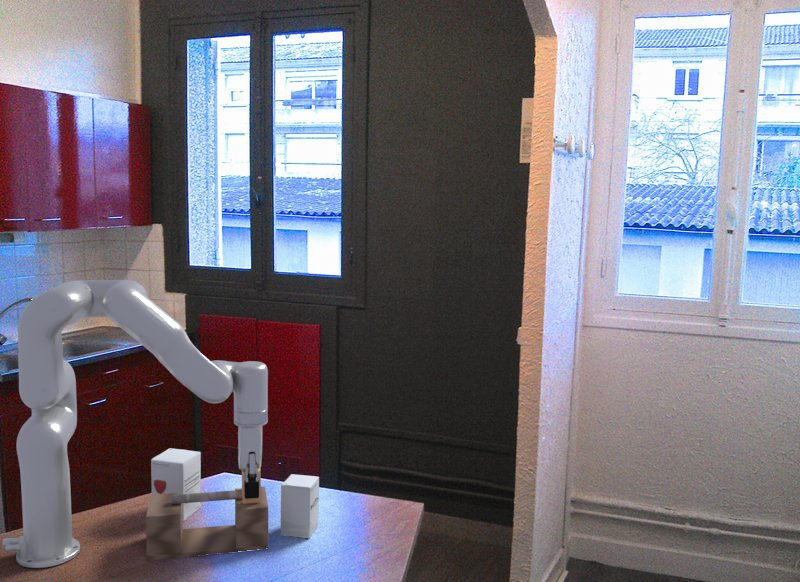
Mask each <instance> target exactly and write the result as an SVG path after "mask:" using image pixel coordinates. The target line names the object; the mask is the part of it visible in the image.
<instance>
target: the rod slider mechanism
mask: <svg viewBox="0 0 800 582" xmlns="http://www.w3.org/2000/svg"><path fill="white" fill-rule="evenodd" d="M230 500H231V501H232V500H234V524H229V525H226V524H225V525H217V526H205V527H204V526H203V527H193V528H192V527H191V528H184V524H183V523H184V521H183V505H182V503H194V502H201V503H203V502H204V503H205V502H218V501H230ZM147 505H148V506H147V510H146V515H145V527H146V528H145V534H146V537H145V539H146V543H145V544H146V561H148V562H149V561H161V560H170V559H180V558H181V559H182V558H191V557H190V556H194V557H199V556H198V555H205V556H207V555H206V554H215V555H220V554H219V553H226V554H230V553H229V552H237V553H239V552H238V551H247V550H257V549H266V548H268V549H269V503H268V497H267V491H266V486H261V502H260V503H247V504H243V490H242V487H241V488H235V489H234V490H233V489H232V490H223V491H222V490H221V491H219V490H218V491H208V492H201V493H191V494H182V493H169V494H155V495H152V494H150V497H149V501H148V504H147ZM217 553H218V554H217Z"/></svg>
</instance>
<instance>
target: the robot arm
mask: <svg viewBox="0 0 800 582" xmlns="http://www.w3.org/2000/svg"><path fill="white" fill-rule="evenodd" d="M83 318H108V319H109V320H111V321H112V322H113V323H114V324H115V325H116V326H118V327H120V328H121V330H123V331H124V333H127V334H128V335H129V336H130V337H132V339H134V340H136V342H138V343H139V344H140V345H142V346H143V347H144V348H145V349H146V350H148V351H149V352H150V353H151V354H152V355H153V356H154V357H155V358H156V359H157V360H158V362H159V363H160V364H161V365H162V366H163V367H165V369H166V370H167V371H169V373H170V374H171V375H172V376H173V377H174V378H175V379H176V380H177V381H178V382H180V384H182V385H183V386H184V387H186V388H187V389H188V390H190V391H191V392H192V393H193V394H194V395H196V396H197V397H198V398H200V399H201V400H203V401H205V402H207V403H209V404H221V403H223V402H225V401H226V400H227V399H229V397H230V396H231V394H232V393H233V424H234V425H235V426H237V427H238V429H237V430H238V431H237V435H238V436H237V440H238V444H237V450H238V451H237V453H238V454H237V455H238V456H237V458H238V459H237V460H238V469H239V470H241V471H242V469H245V470H246V481H245V499H251V498H258V497H259V480H258V469H259V468H260V469H261V467H262V459H263V457H262V456H263V426H265V425H267V424H268V421H269V417H268V416H269V414H268V413H269V412H268V411H269V409H268V408H269V404H268V402H269V399H268V397H269V395H268V393H269V392H268V389H269V388H268V385H269V383H268V382H269V381H268V380H269V370H268V367H267V365H266V364H265V363H264V362H262V361H255V360H253V361H252V360H249V361H242V362H237V361H230V360H229V361H227V360H219V359H218V360H210V359H209V358H207V356H205V355H204V354H203V353H201V351H200V350H199V349H198V348H197V347H196V346H195V345H194V344H193V342H192V341H191V340H190V338H189V336H188V334H187V332H186V331H185V329H184V328H183V326H182V325H181V324H180V323H179V322H178V321H177V320H176V319H175V318H173V317H172V316H171V315H169V314H168V313H167V312H166V311H165V310H163V308H161V307H160V306H159V305H158V304H156V303H154V301H153V300H152V299H150V298H149V296H148V293H147V291H146V289H145V287H144V286H143V285H142V284H140V283H139V282H138V281H135V280H131V279H110V280H109V279H104V280H103V279H101V280H100V279H92V280H91V279H86V280H85V279H82V280H81V279H79V280H78V279H77V280H69V281H65V282H63V283H60V284H59V285H57V286H55V287H52V288H50V289H48V290H46V291H44V292H42V293H41V294H39V295H37V296H35V298H33V299H32V300H30V301H29V302H28V303H27V304H26V306H25V307H24V308H23V310H22V312H21V314H20V316H19V318H18V323H17V345H18V346H17V349H18V352H17V353H18V357H17V359H18V360H17V361H18V363H17V364H18V392H19V395H20V399H21V401H22V403H24V405H25V406H27V407H28V408H30V409H31V416H30V417H29V418H28V419H27V420H26V421H25V422H24V424H22V426H21V428H20V430H19V432H18V434H17V438H16V454H17V459H18V466H19V470H20V471H19V472H20V485H21V488H20V489H21V509H22V529H23V530H22V531H23V535H19V536H18V537H14V538H13V537H10V538H8V537H6V538H3V539H2V542H1V543H2V545H1V546H2V549H5V552H13V551H17V552H16V557H15V558H16V562H17V564H19V565H20V566H22V567H25V568H29V569H30V568H31V569H43V568H50V567H54V566H59V565H61V564H64V563H66V562H68V561H70V560H72V559H74V558H75V557H76V556H77V555H78V554H79V553H80V552H81V543H80V542H79V540H78V539H76V538H74V537H73V527H72V526H73V525H72V524H73V523H72V496H71V495H72V494H71V474H70V473H71V472H70V463H69V457H68V456H69V455H68V443H69V441H70V439H71V438H72V437H73V435H74V434H75V430H76V429H77V424H78V423H77V422H78V408H77V407H78V404H77V381H76V375H75V371H74V368H73V366H72V365H71V364H70V363H69V361H67V360H66V359H65V358H64V356H63V355H64V354H63V353H64V352H63V351H64V347H63V346H64V345H63V338H62V334H63V330H64V329H65V328H66V327H68V326H71V325H73V324H75V323H77V322H79V321H80V320H81V319H83ZM247 465H249V467H250V468H247ZM255 465H256V467H255ZM248 471H250V473H248ZM255 471H256V473H255Z"/></svg>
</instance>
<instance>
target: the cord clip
mask: <svg viewBox="0 0 800 582" xmlns="http://www.w3.org/2000/svg"><path fill="white" fill-rule="evenodd" d="M255 467H256V465H255ZM247 468H250V467H249V465H247ZM248 473H250V471H248ZM255 473H256V471H255ZM261 475H262V473H261V467H260V468H259V469H258V480H259V497H258V498H251V499H245V481H246V470H245V469H242V470H241V488H242V490H243V504H247V503H260V502H261V487H262V485H261V479H262V478H261V477H262V476H261Z"/></svg>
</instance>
